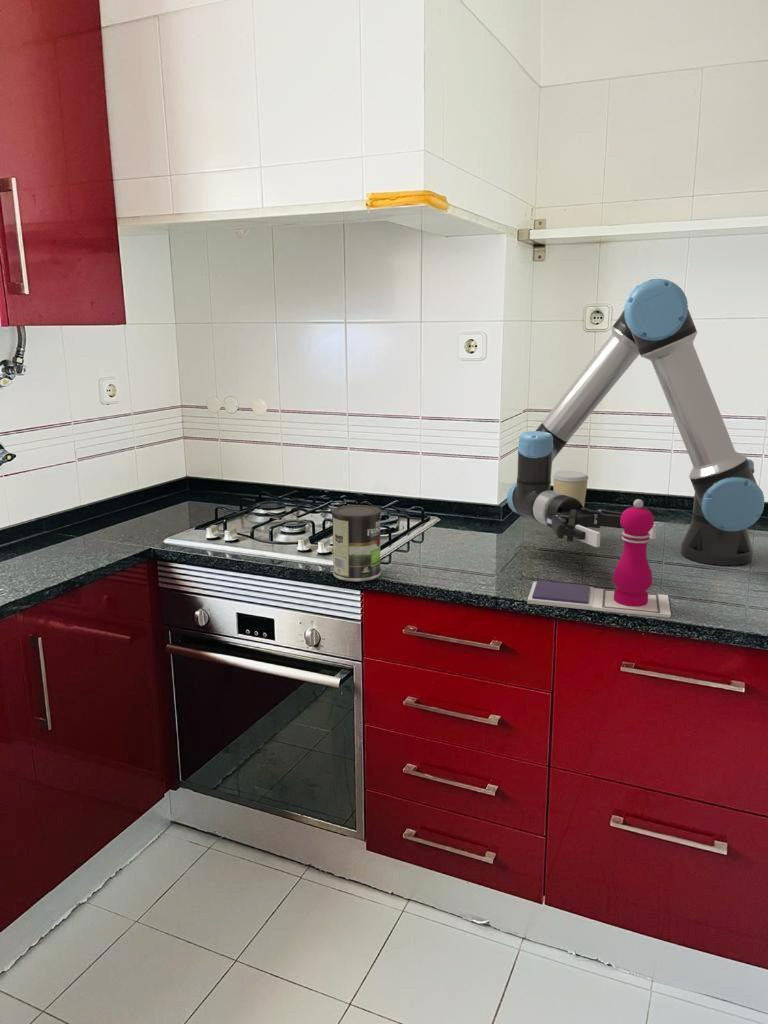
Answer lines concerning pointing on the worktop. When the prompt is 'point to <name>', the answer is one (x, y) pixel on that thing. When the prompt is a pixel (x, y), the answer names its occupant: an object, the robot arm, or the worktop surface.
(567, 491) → the coffee cup
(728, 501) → the robot arm
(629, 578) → the pepper mill
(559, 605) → the ink pad
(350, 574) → the coffee can
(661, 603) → the board
